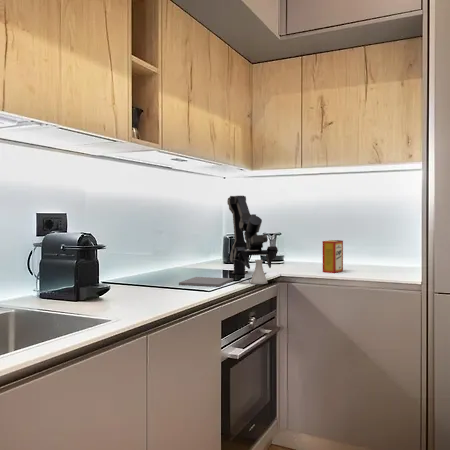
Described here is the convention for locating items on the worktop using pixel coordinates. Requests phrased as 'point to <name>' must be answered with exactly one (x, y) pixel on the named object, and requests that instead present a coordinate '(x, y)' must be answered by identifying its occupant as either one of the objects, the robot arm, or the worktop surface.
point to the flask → (258, 274)
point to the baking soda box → (333, 256)
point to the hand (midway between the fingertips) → (259, 268)
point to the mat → (206, 281)
